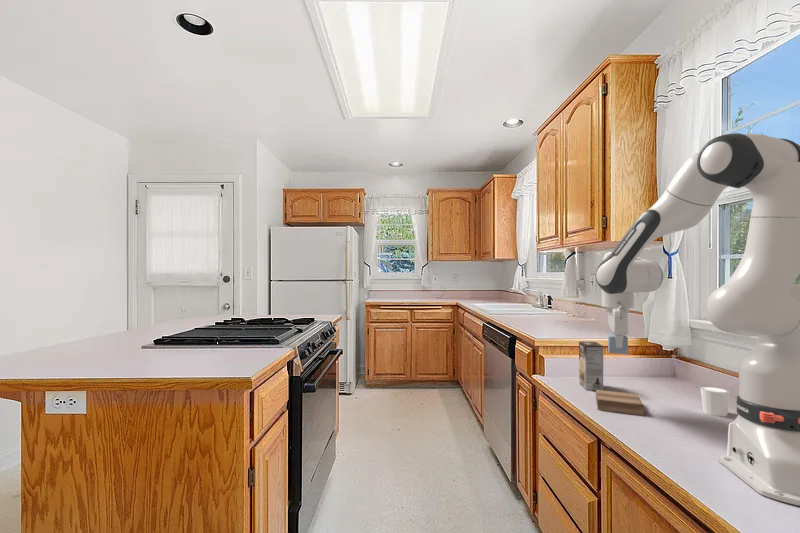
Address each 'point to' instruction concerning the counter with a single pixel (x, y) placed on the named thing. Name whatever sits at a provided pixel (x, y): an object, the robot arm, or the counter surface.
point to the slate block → (612, 345)
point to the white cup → (715, 401)
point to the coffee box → (591, 365)
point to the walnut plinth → (619, 402)
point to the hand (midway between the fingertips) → (617, 346)
